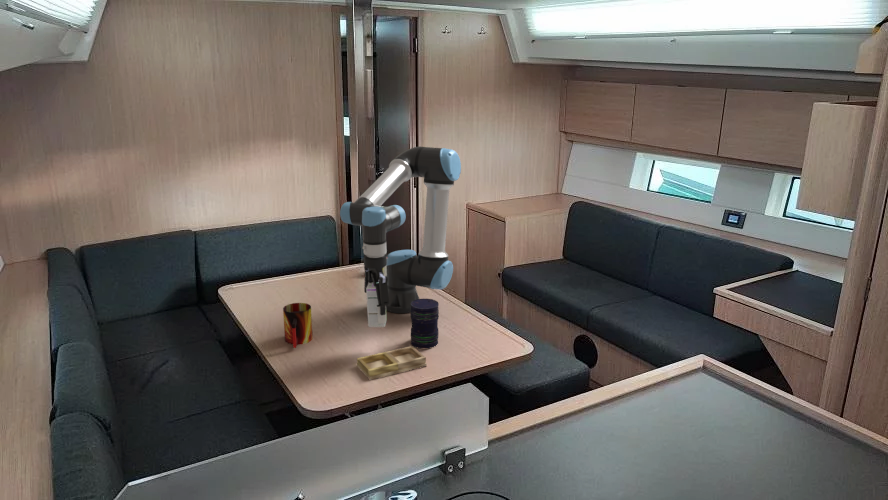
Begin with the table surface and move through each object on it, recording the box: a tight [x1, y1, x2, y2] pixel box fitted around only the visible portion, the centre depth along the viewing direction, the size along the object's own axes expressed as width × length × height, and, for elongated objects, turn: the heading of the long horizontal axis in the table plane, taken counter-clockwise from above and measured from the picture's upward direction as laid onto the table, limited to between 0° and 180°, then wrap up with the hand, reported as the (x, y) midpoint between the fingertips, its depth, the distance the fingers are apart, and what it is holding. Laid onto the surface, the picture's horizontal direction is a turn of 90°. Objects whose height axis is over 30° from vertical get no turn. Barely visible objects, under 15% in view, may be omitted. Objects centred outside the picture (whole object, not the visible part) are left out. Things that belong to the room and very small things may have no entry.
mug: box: [282, 302, 313, 349], centre depth 227 cm, size 10×14×12 cm
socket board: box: [356, 345, 427, 381], centre depth 211 cm, size 20×11×3 cm, turn 120°
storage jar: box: [410, 298, 440, 349], centre depth 227 cm, size 10×10×15 cm
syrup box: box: [365, 282, 387, 328], centre depth 217 cm, size 6×6×14 cm
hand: (377, 318), depth 219 cm, fingers closed on syrup box, 7 cm apart
